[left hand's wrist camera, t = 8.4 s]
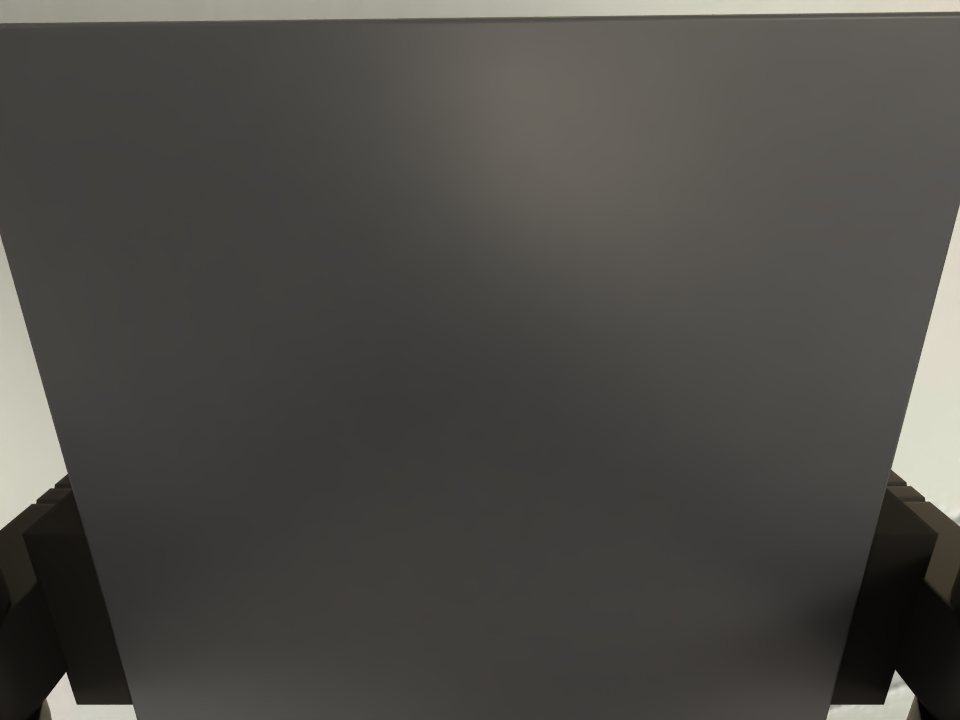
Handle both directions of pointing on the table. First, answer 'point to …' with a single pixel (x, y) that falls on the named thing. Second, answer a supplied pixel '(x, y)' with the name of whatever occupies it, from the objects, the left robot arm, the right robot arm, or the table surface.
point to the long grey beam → (480, 348)
